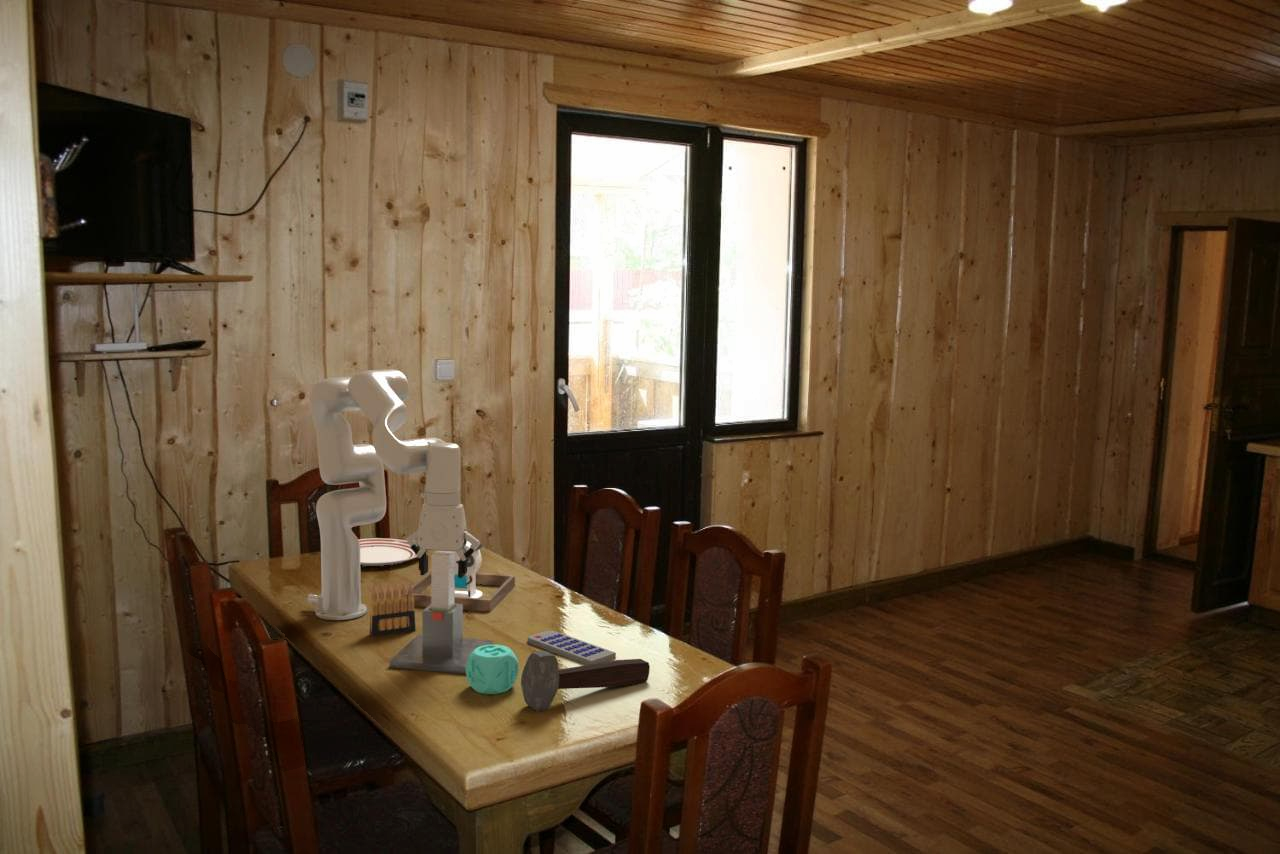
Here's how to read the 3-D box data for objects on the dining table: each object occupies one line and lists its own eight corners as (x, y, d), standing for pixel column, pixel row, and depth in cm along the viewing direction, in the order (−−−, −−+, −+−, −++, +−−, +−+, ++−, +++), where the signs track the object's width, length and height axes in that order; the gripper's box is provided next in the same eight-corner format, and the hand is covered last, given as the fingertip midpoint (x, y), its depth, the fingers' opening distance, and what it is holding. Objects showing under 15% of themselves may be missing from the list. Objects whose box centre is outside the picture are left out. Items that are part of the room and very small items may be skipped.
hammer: (634, 692, 230) (517, 705, 211) (641, 642, 229) (525, 650, 211) (648, 700, 226) (530, 713, 207) (655, 648, 225) (537, 657, 207)
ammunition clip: (371, 636, 250) (371, 587, 248) (369, 634, 251) (369, 585, 250) (415, 631, 255) (415, 582, 253) (413, 628, 256) (413, 580, 255)
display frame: (401, 604, 275) (401, 593, 274) (432, 580, 298) (432, 569, 298) (490, 611, 271) (490, 600, 271) (515, 585, 295) (515, 575, 294)
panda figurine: (430, 598, 281) (430, 543, 279) (449, 587, 292) (449, 534, 290) (471, 603, 278) (472, 548, 276) (489, 591, 288) (489, 538, 286)
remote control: (590, 669, 234) (591, 660, 234) (524, 643, 250) (524, 634, 249) (615, 660, 240) (616, 651, 240) (549, 635, 255) (549, 626, 255)
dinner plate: (442, 557, 323) (442, 546, 323) (375, 576, 301) (375, 565, 300) (378, 543, 338) (378, 533, 338) (310, 561, 315) (310, 550, 315)
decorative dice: (490, 697, 215) (490, 660, 214) (464, 687, 221) (465, 650, 219) (519, 687, 221) (519, 650, 220) (493, 677, 227) (494, 641, 225)
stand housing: (389, 667, 230) (389, 616, 229) (418, 640, 248) (418, 593, 247) (468, 674, 228) (469, 622, 226) (492, 646, 245) (493, 598, 244)
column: (430, 626, 235) (431, 554, 233) (437, 620, 239) (437, 550, 237) (448, 627, 235) (448, 555, 232) (454, 622, 239) (454, 551, 236)
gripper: (399, 499, 231) (399, 577, 233) (476, 504, 228) (475, 582, 230) (411, 493, 238) (411, 568, 240) (486, 497, 235) (485, 573, 238)
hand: (443, 574), depth 235 cm, fingers open, 8 cm apart
